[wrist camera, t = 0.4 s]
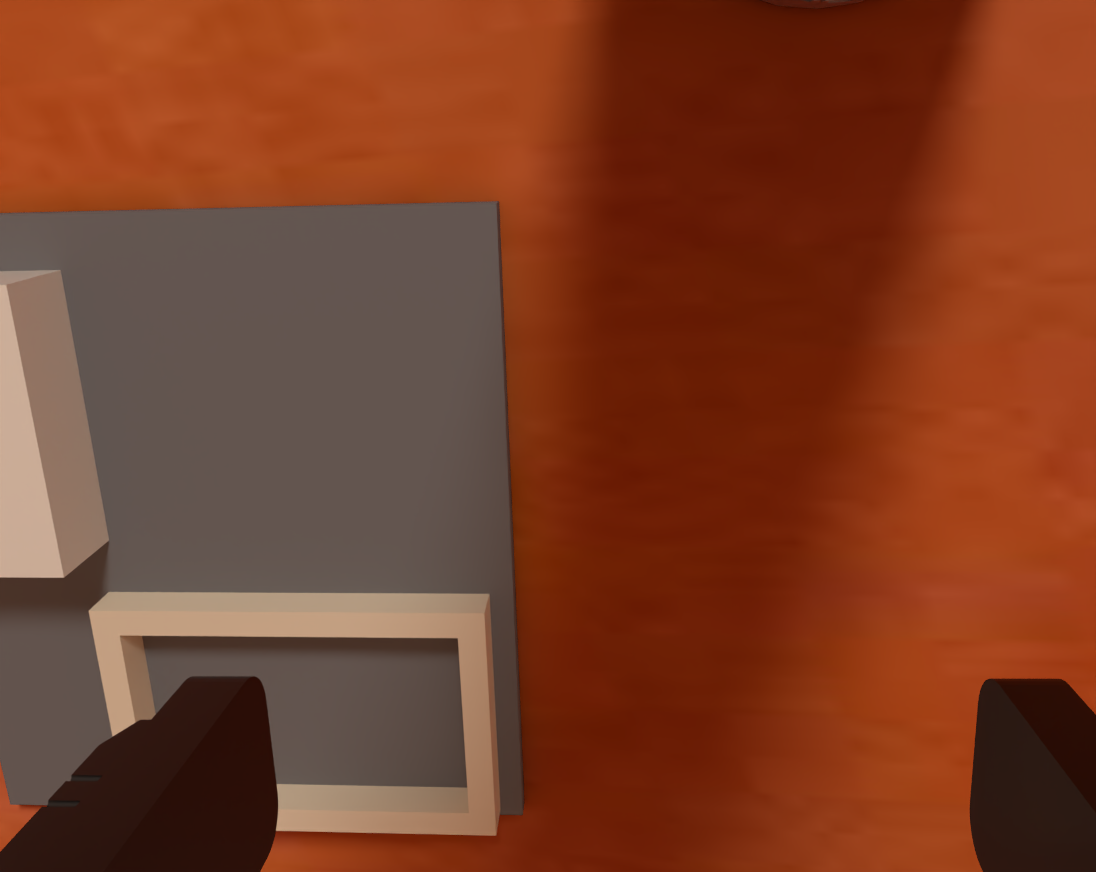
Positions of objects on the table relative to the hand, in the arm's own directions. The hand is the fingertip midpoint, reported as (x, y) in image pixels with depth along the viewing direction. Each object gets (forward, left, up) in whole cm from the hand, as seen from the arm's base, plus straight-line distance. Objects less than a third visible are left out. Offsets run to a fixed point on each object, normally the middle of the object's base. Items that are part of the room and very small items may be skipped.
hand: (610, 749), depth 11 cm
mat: (+5, -12, -17) cm, 21 cm away
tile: (+1, -17, -16) cm, 24 cm away
